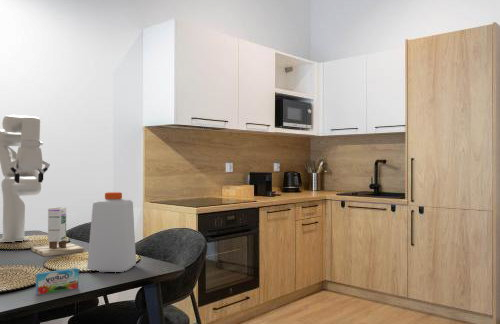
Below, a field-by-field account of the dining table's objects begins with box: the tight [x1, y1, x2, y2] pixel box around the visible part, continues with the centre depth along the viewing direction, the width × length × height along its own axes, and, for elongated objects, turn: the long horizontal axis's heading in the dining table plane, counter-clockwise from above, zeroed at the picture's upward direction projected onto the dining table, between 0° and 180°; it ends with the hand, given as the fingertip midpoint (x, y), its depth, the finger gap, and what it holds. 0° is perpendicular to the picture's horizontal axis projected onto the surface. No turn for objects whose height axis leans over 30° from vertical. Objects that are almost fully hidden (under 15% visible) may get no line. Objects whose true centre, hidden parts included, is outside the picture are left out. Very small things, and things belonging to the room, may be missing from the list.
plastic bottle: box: [86, 191, 137, 274], centre depth 165 cm, size 15×15×28 cm
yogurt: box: [35, 267, 80, 296], centre depth 134 cm, size 12×2×6 cm, turn 132°
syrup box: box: [47, 206, 67, 243], centre depth 196 cm, size 6×6×14 cm
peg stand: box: [30, 239, 85, 257], centre depth 196 cm, size 17×17×4 cm
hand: (28, 182), depth 201 cm, fingers open, 9 cm apart
